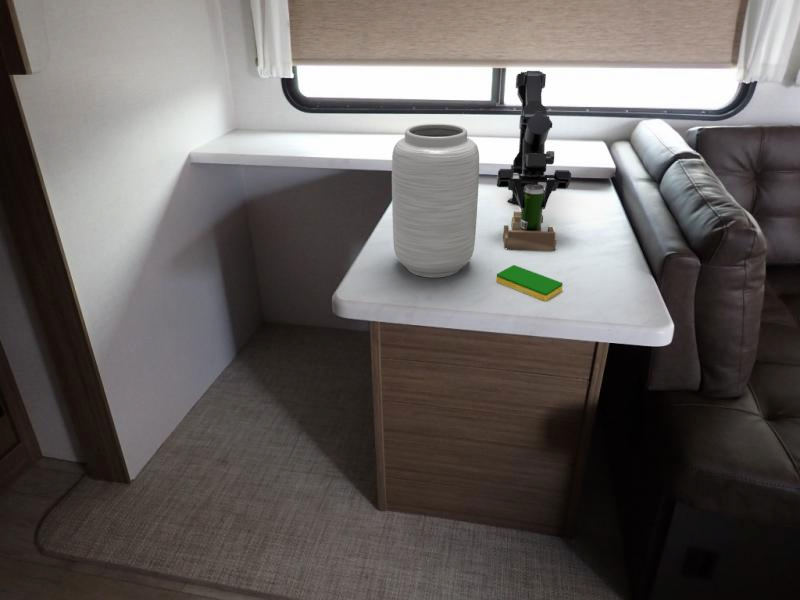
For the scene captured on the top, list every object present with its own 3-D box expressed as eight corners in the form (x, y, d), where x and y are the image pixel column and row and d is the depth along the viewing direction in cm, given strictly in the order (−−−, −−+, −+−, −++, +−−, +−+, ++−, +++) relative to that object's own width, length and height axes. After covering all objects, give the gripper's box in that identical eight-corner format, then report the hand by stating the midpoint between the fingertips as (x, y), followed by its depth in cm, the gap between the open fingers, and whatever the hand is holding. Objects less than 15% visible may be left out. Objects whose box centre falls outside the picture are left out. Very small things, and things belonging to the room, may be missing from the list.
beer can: (532, 235, 151) (537, 191, 145) (515, 230, 154) (519, 186, 148) (544, 229, 154) (549, 186, 148) (527, 224, 158) (531, 182, 152)
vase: (382, 256, 150) (378, 124, 134) (452, 244, 156) (457, 117, 140) (411, 290, 133) (410, 145, 117) (488, 275, 140) (498, 135, 123)
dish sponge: (513, 273, 141) (513, 264, 140) (562, 292, 133) (563, 282, 131) (495, 283, 137) (495, 273, 136) (545, 303, 128) (546, 293, 127)
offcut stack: (511, 226, 167) (512, 211, 165) (539, 226, 166) (541, 212, 164) (512, 232, 162) (513, 217, 160) (541, 233, 161) (543, 218, 159)
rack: (503, 235, 161) (504, 218, 158) (551, 236, 160) (553, 220, 157) (504, 249, 153) (506, 231, 150) (555, 251, 151) (557, 233, 149)
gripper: (500, 138, 147) (498, 194, 143) (575, 139, 145) (575, 196, 141) (497, 159, 158) (495, 212, 154) (567, 161, 156) (567, 214, 152)
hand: (532, 208), depth 150 cm, fingers closed on beer can, 5 cm apart
